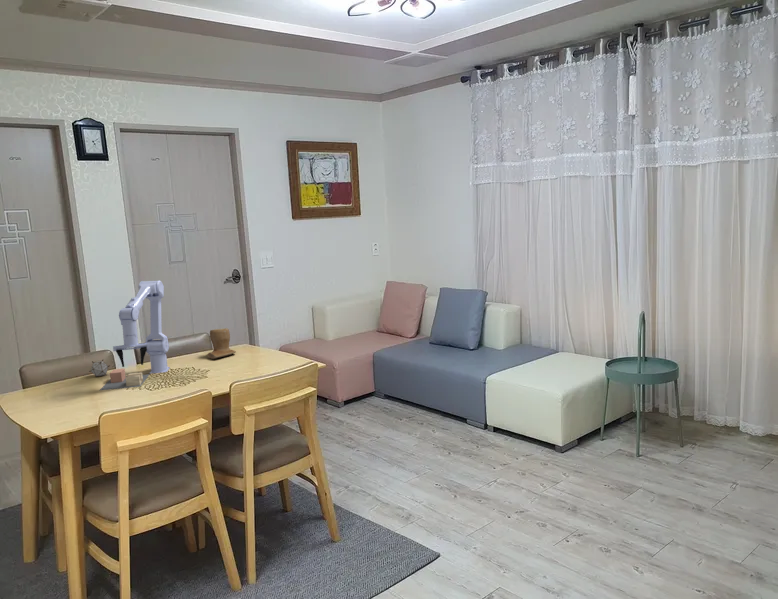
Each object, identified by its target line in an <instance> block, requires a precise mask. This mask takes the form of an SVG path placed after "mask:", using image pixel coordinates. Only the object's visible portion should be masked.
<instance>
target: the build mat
mask: <svg viewBox="0 0 778 599" xmlns="http://www.w3.org/2000/svg"><path fill="white" fill-rule="evenodd" d="M142 375H143V382H142V383H141V384H140V385H136V386H126V378H125V379H124V380H123V382H116V383H111V379H110V378H109V380H108V381H107V382H106V383H105V384H104V385H102V387H101V388H100V389H99V390H98V391H107V390H119V389H130V388H140V387H141V386H142V385H143V384H144V383H145V381H146V380H147V379H148V377H149V376H150V375H151V374H149V373H145V374H142ZM125 376H126V377H127V375H125Z"/></svg>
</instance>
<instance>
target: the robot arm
mask: <svg viewBox="0 0 778 599" xmlns="http://www.w3.org/2000/svg"><path fill="white" fill-rule="evenodd" d="M137 287H138V292H137V293H136V295H135V296H134V297H131V299H130V300H129V301H128V303H127V305H125V307H122V308H121V309H119V312H118V318H119V320H120V321H119V322H120V325H121V326H122V335H123V345H115V346H112V350H113V352H115V353H116V354H117V356H118V357H119V358H118V359H119V360H120V363H121V367H122V368H125V362H124V351H127V350H129V351H130V350H138V349H139V352H140V353H139V354H140V365H141V366H143V365H144V360H145V356H146V353H147V354H148V355H149V361H150V371H149V372H148V374H150V375H151V374H159V373H160V374H161V373H162V374H163V373H167V372H168V371H169V369H170V366H168V357H167V353H168V351H169V348H170V344H169V340H168V336H167V335H165V334H164V333H163V329H162V326H163V325H162V320H163V319H162V299H163V298H164V297H165V295H164V294H165V290H164V289H165V286H164V284H163V281H161V280H141V281H140V282H139V283H138V286H137ZM145 299H148V300H149V304H150V306H149V307H150V310H149V312H150V314H149V315H150V334H148V335H147V336H146V337H145V342H144V343H139V340H138V339H139V338H138V328H137V326H138V324H137V320H138V319H139V315H140V311H141V309H142V307H143V306H144V301H145Z"/></svg>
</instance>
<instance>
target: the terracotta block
mask: <svg viewBox="0 0 778 599" xmlns="http://www.w3.org/2000/svg"><path fill="white" fill-rule="evenodd" d="M126 376H127V375H126V368H117V369H116V368H115V369H112V370H111V372H110V373H109V380H110V379H111V383H116V382H123V380H124V379H125V378H126Z"/></svg>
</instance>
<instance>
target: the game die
mask: <svg viewBox="0 0 778 599" xmlns="http://www.w3.org/2000/svg"><path fill="white" fill-rule="evenodd" d="M91 363H92V364H91V365H92V366H91V368H90V370H89V371H88V372H91V373H92V374H93V375H94V376H95V378H98V377H101V376H107V373H108V369H109V367H110V366H111V365H108V364H107V363H106V362H105V361H104V359H102V360H98V361H91Z"/></svg>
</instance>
